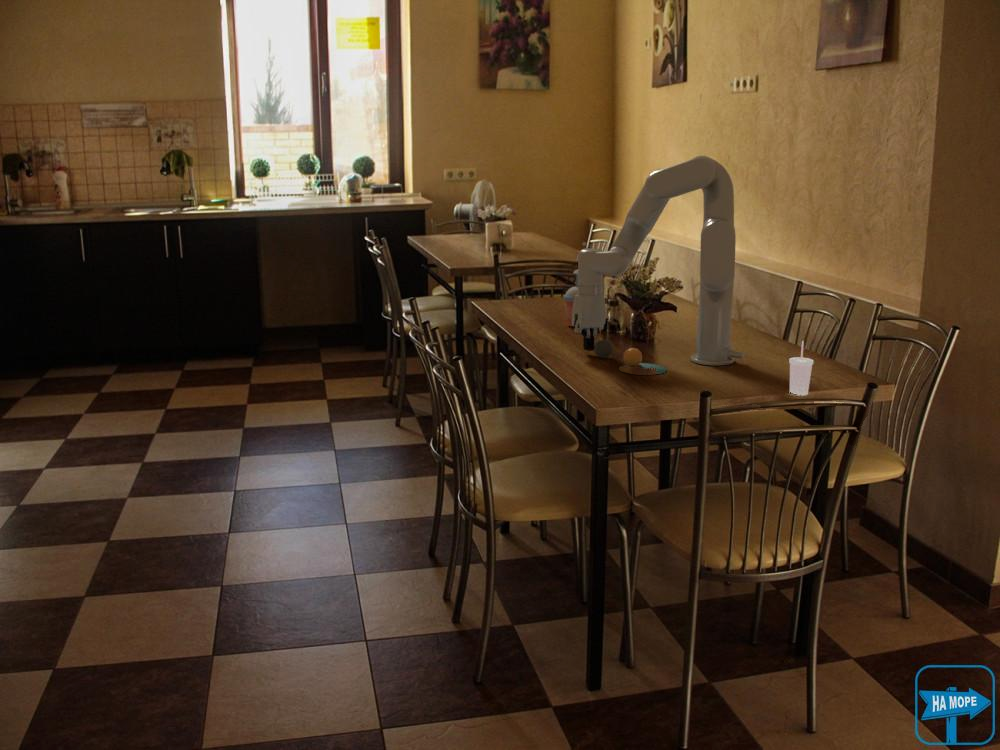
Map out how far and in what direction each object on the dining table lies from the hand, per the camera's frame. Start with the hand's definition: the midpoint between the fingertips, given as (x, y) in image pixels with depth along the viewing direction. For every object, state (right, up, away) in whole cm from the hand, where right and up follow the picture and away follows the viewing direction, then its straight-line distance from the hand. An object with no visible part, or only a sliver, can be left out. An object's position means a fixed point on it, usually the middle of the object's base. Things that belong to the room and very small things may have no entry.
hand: (588, 349), depth 297 cm
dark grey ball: (+4, 0, -5) cm, 6 cm away
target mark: (+14, -6, -17) cm, 23 cm away
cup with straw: (-1, +9, +42) cm, 43 cm away
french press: (+5, +17, +74) cm, 76 cm away
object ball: (+11, -3, -15) cm, 19 cm away
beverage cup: (+51, -13, -41) cm, 67 cm away
